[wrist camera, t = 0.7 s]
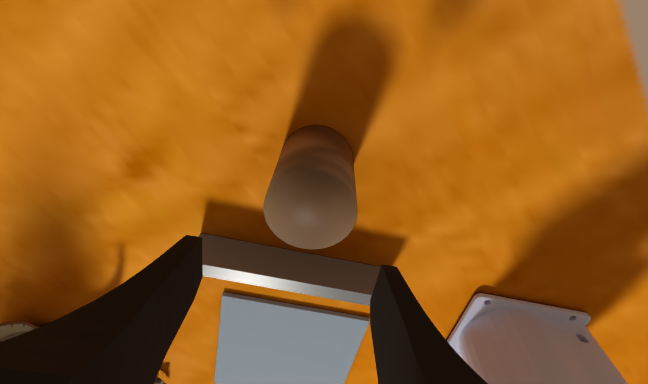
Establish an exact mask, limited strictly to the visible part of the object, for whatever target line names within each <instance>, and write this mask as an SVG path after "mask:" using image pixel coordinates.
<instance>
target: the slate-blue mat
mask: <svg viewBox="0 0 648 384" xmlns="http://www.w3.org/2000/svg"><path fill="white" fill-rule="evenodd" d="M369 322H370V321H369V317H363V316H357V315H352V314H346V313H340V312H335V311H329V310H323V309H318V308H312V307H306V306H301V305H295V304H289V303H284V302H278V301H272V300H267V299H261V298H255V297H249V296H244V295H238V294H232V293H227V292H223V295H222V303H221V314H220V325H219V336H218V347H217V359H216V370H215V381H214V383H218V384H344V383H345V380H346V378H347V375H348V373H349V370H350V368H351V366H352V363H353V361H354V358H355V356H356V353H357V351H358V348H359V346H360V344H361V341H362V339H363V336H364V334H365V331H366V329H367V327H368V324H369Z"/></svg>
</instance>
